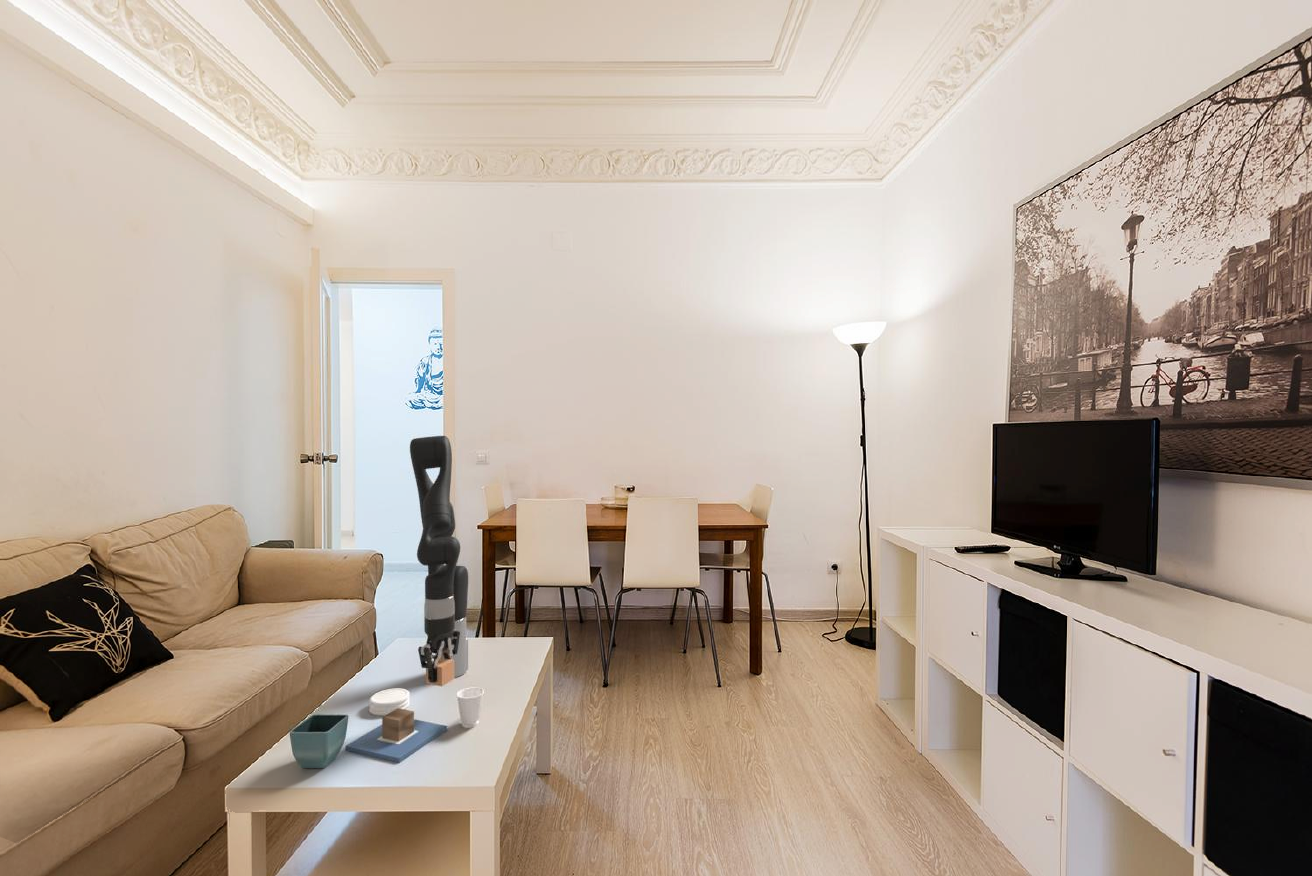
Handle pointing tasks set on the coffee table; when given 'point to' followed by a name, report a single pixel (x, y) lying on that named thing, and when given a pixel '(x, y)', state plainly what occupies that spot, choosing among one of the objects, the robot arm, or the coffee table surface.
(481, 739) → the coffee table surface
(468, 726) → the cup
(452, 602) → the robot arm
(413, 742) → the board
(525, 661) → the coffee table surface
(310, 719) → the flower pot
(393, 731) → the walnut block
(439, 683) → the terracotta block
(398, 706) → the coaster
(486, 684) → the coffee table surface
